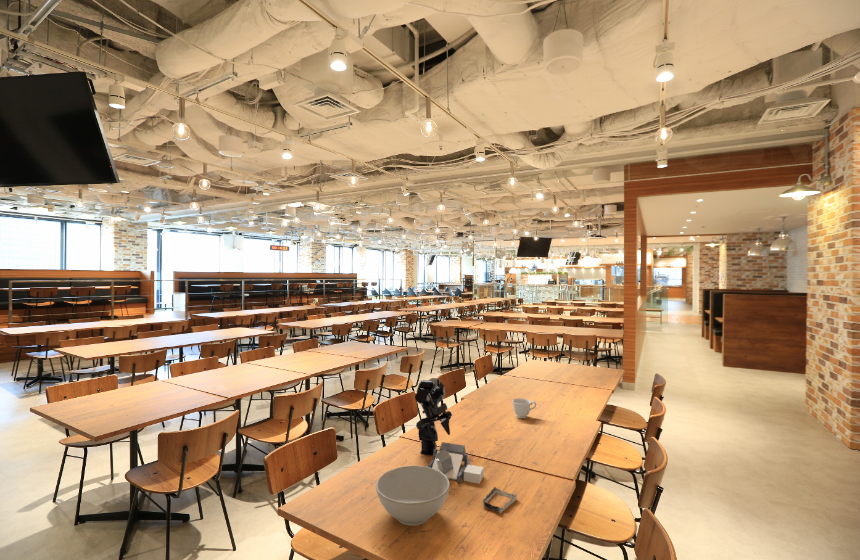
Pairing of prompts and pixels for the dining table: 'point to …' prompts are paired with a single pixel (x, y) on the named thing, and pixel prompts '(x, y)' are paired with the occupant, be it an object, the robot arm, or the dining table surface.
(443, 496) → the decorative bowl
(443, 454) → the stone
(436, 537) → the dining table surface
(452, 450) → the trapdoor
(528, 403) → the teacup
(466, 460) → the frame
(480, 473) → the light grey block
